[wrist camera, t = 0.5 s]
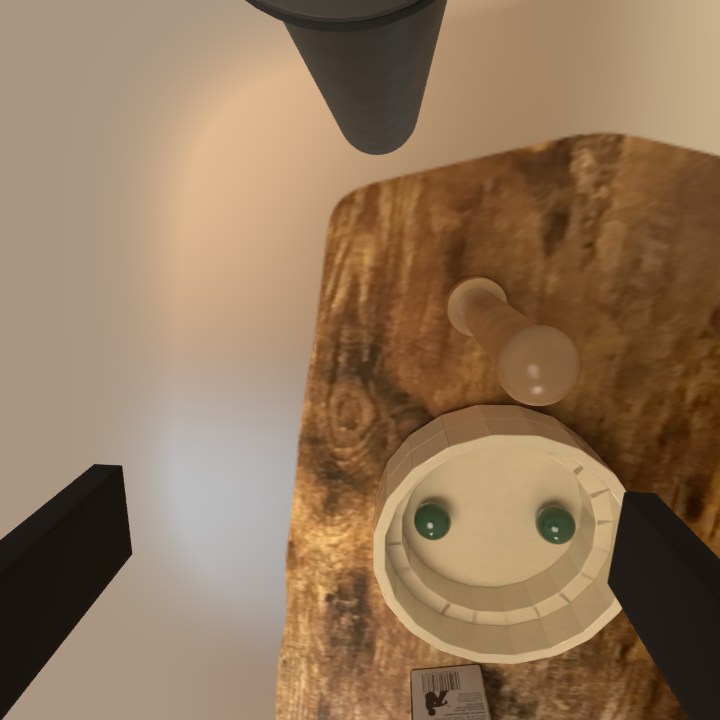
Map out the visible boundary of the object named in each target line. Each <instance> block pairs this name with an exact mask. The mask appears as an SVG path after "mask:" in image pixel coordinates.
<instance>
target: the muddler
mask: <svg viewBox="0 0 720 720" xmlns="http://www.w3.org/2000/svg"><path fill="white" fill-rule="evenodd" d="M445 310H446V314H447V317H448V319H449V321H450V322H451V324H452V325H453V327H454V328H455V329H456V330H457V331H459V332H460V333H462V334H464V335H466V336H470V337H475V339H476V340H477V341H478V343H479V344H480V345H481V347H482V348H483V349H484V351H485V352H486V353H487V355H488V356H489V357H490V359H491V360H492V361H493V363H494V364H495V369H496V374H497V378H498V380H499V382H500V384H501V386H502V388H503V389H504V390H505V391H506V392H507V393H508V394H509V395H510V396H511V397H512V398H514V399H515V400H517V401H519V402H521V403H524V404H528V405H533V406H544V405H550V404H553V403H556V402H558V401H560V400H562V399H563V398H565V397H566V396H567V395H568V394H569V393H570V392H571V391H572V390H573V389H574V387H575V386H576V384H577V382H578V380H579V377H580V374H581V357H580V353H579V351H578V349H577V347H576V345H575V343H574V342H573V341H572V340H571V339H570V338H569V337H568V336H567V335H566V334H565V333H563V332H562V331H560V330H558V329H556V328H553V327H550V326H546V325H537V324H536V323H534V322H533V321H531V320H530V319H529V318H527V317H526V316H524V315H523V314H521V313H520V312H518V311H517V310H515V309H514V308H512V307H511V306H509V305H508V302H507V298H506V295H505V293H504V291H503V290H502V288H501V287H500V286H499V285H498V284H496V283H495V282H493V281H491V280H490V279H488V278H485V277H482V276H469V277H466V278H463V279H461V280H459V281H458V282H456V283H455V284H454V285H453V286H452V287H451V289H450V290H449V292H448V294H447V297H446V301H445Z"/></svg>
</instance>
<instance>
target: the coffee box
mask: <svg viewBox="0 0 720 720" xmlns="http://www.w3.org/2000/svg"><path fill="white" fill-rule="evenodd" d="M410 685H411V711H412V720H491V717H490V712H489V707H488V702H487V697H486V693H485V688H484V683H483V678H482V674H481V669H480V666H479V665H468V666H457V667H445V668H434V669H423V670H412V671H411V672H410Z"/></svg>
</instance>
